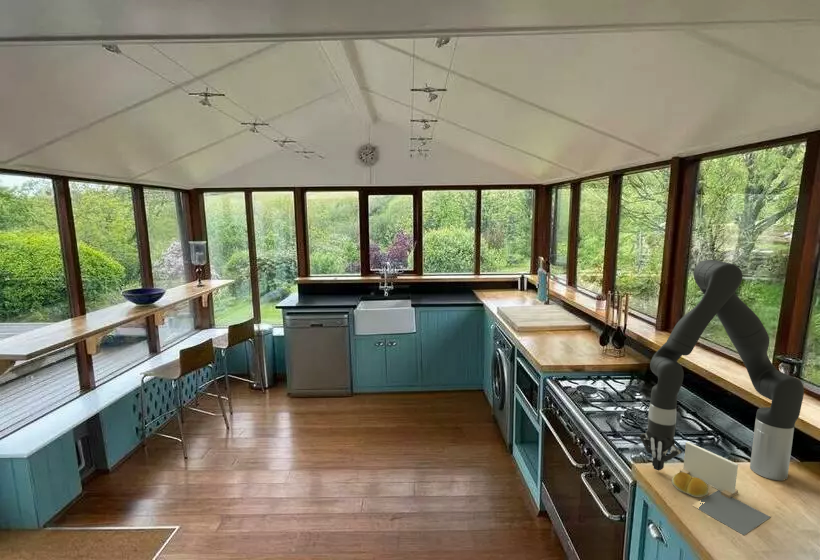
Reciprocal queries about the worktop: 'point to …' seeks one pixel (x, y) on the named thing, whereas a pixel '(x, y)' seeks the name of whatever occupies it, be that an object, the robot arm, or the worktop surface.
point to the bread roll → (690, 484)
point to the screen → (711, 469)
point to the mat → (732, 512)
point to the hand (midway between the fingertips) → (657, 468)
